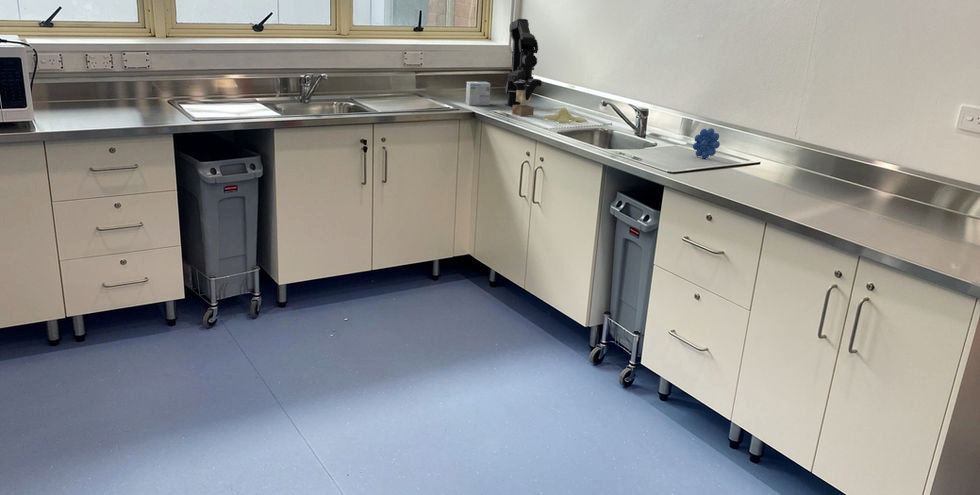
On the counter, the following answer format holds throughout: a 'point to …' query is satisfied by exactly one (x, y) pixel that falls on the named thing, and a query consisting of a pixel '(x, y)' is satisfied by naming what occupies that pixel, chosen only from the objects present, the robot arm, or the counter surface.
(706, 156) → the blue flower shape
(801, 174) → the counter surface
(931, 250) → the counter surface
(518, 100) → the oak cube
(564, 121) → the cloth
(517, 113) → the walnut base block
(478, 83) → the light bulb box
